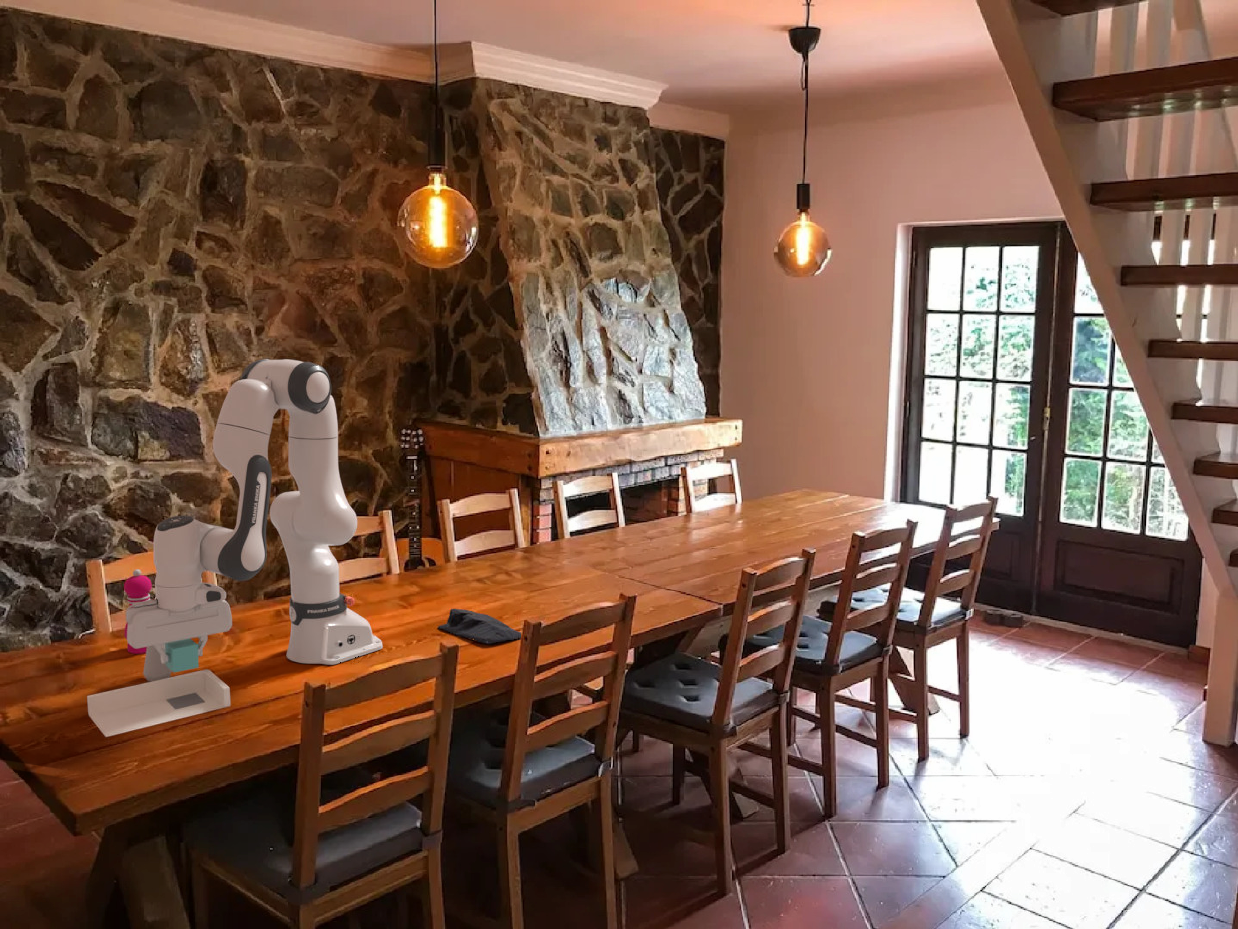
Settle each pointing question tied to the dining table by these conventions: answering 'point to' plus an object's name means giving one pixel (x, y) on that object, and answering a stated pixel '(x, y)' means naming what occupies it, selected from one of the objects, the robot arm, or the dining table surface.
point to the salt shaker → (155, 665)
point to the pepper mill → (137, 598)
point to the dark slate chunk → (478, 627)
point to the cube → (182, 655)
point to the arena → (157, 702)
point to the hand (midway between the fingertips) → (182, 659)
